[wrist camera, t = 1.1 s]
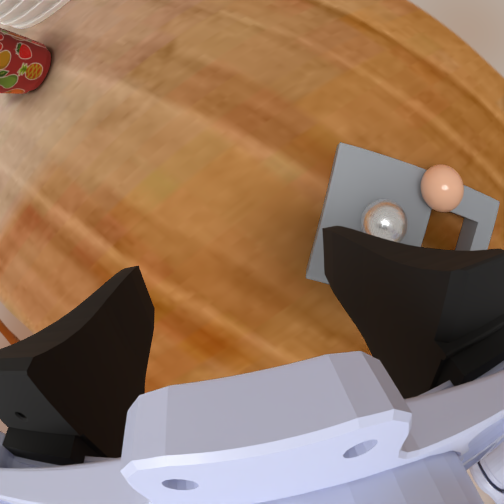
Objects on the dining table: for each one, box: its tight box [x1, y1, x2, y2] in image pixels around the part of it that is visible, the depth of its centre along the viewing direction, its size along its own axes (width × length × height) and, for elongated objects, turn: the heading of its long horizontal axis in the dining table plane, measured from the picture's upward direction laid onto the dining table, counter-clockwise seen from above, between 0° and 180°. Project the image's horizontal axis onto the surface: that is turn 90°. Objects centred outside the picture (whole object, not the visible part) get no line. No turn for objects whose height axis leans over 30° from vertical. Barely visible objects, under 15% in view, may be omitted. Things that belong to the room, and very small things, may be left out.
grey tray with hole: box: [306, 142, 500, 284], centre depth 21 cm, size 14×10×2 cm
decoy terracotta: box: [421, 164, 464, 212], centre depth 17 cm, size 3×3×3 cm
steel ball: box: [361, 199, 408, 243], centre depth 18 cm, size 3×3×3 cm
